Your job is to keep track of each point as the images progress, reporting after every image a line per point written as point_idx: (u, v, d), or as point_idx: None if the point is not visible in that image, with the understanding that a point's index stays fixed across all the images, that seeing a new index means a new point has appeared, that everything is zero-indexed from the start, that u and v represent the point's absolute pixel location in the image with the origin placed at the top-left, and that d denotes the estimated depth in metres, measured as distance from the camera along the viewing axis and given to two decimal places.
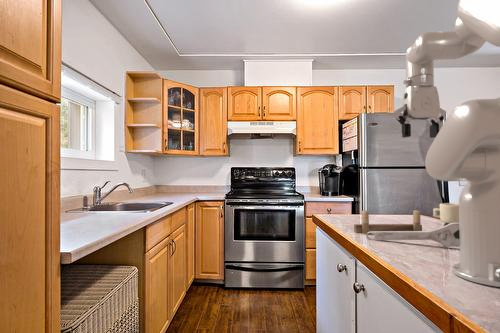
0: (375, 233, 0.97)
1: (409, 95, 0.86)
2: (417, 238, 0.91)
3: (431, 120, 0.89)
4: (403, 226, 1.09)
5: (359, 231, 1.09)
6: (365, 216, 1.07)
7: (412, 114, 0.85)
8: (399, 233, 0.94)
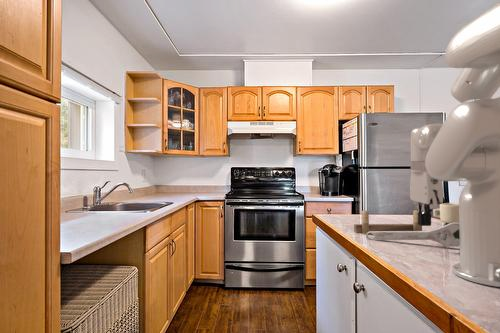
0: (375, 233, 0.97)
1: (439, 181, 0.81)
2: (417, 238, 0.91)
3: None
4: (403, 226, 1.09)
5: (359, 231, 1.09)
6: (365, 216, 1.07)
7: (442, 202, 0.81)
8: (399, 233, 0.94)
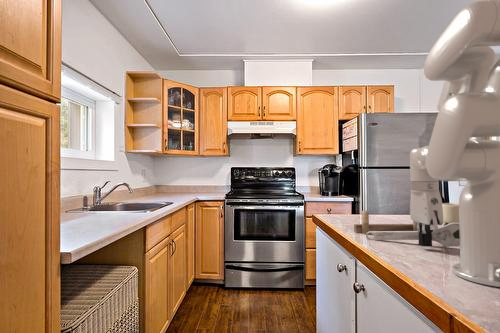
0: (375, 233, 0.97)
1: (439, 202, 0.81)
2: (416, 238, 0.91)
3: None
4: (403, 226, 1.09)
5: (359, 231, 1.09)
6: (365, 216, 1.07)
7: None
8: (398, 233, 0.94)
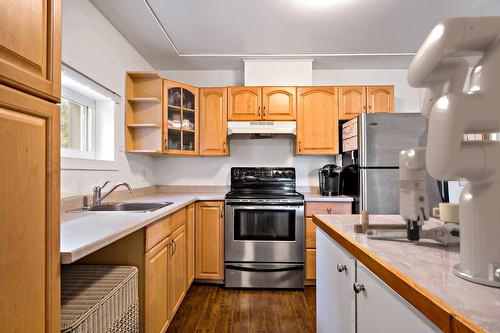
0: (375, 230, 1.00)
1: (426, 199, 0.88)
2: None
3: None
4: (403, 226, 1.09)
5: (359, 231, 1.09)
6: (365, 216, 1.07)
7: None
8: (398, 231, 0.97)
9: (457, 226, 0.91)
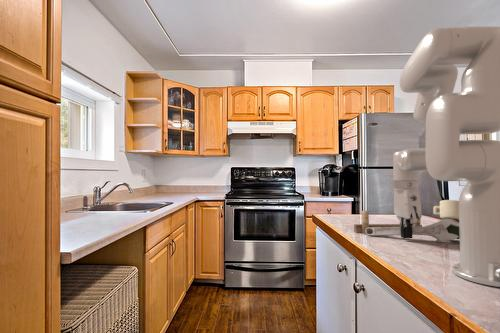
0: (374, 228, 1.04)
1: (418, 199, 0.92)
2: (413, 232, 0.97)
3: None
4: None
5: (359, 231, 1.09)
6: (365, 216, 1.07)
7: None
8: (396, 228, 1.00)
9: (454, 222, 0.92)
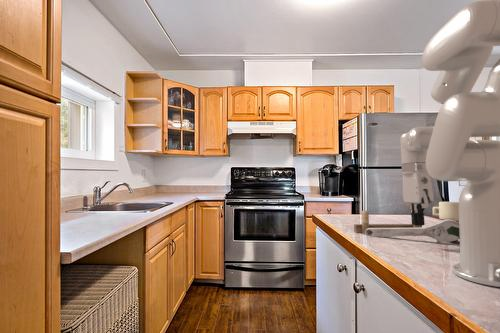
0: (373, 230, 1.03)
1: (429, 181, 0.86)
2: (413, 234, 0.96)
3: None
4: (403, 226, 1.09)
5: (359, 231, 1.09)
6: (365, 216, 1.07)
7: (433, 201, 0.85)
8: (396, 230, 0.99)
9: (455, 224, 0.90)
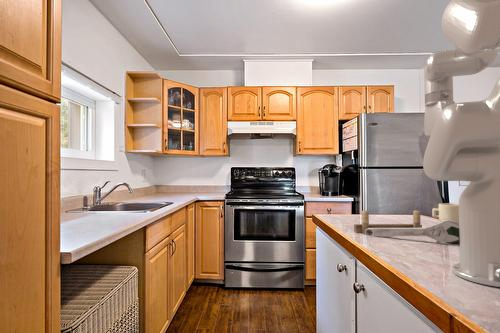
0: (373, 230, 1.03)
1: None
2: (412, 234, 0.96)
3: None
4: (403, 226, 1.09)
5: (359, 231, 1.09)
6: (365, 216, 1.07)
7: None
8: (396, 229, 0.99)
9: (455, 224, 0.90)
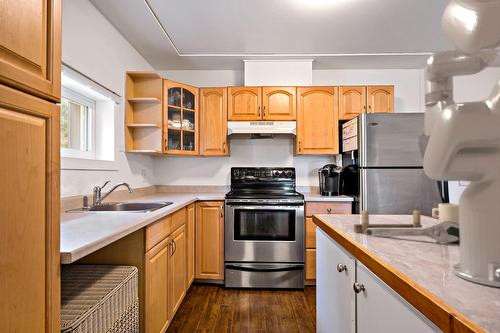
0: (373, 229, 1.03)
1: None
2: (412, 234, 0.96)
3: None
4: (403, 226, 1.09)
5: (359, 231, 1.09)
6: (365, 216, 1.07)
7: None
8: (395, 229, 0.99)
9: (454, 224, 0.90)
